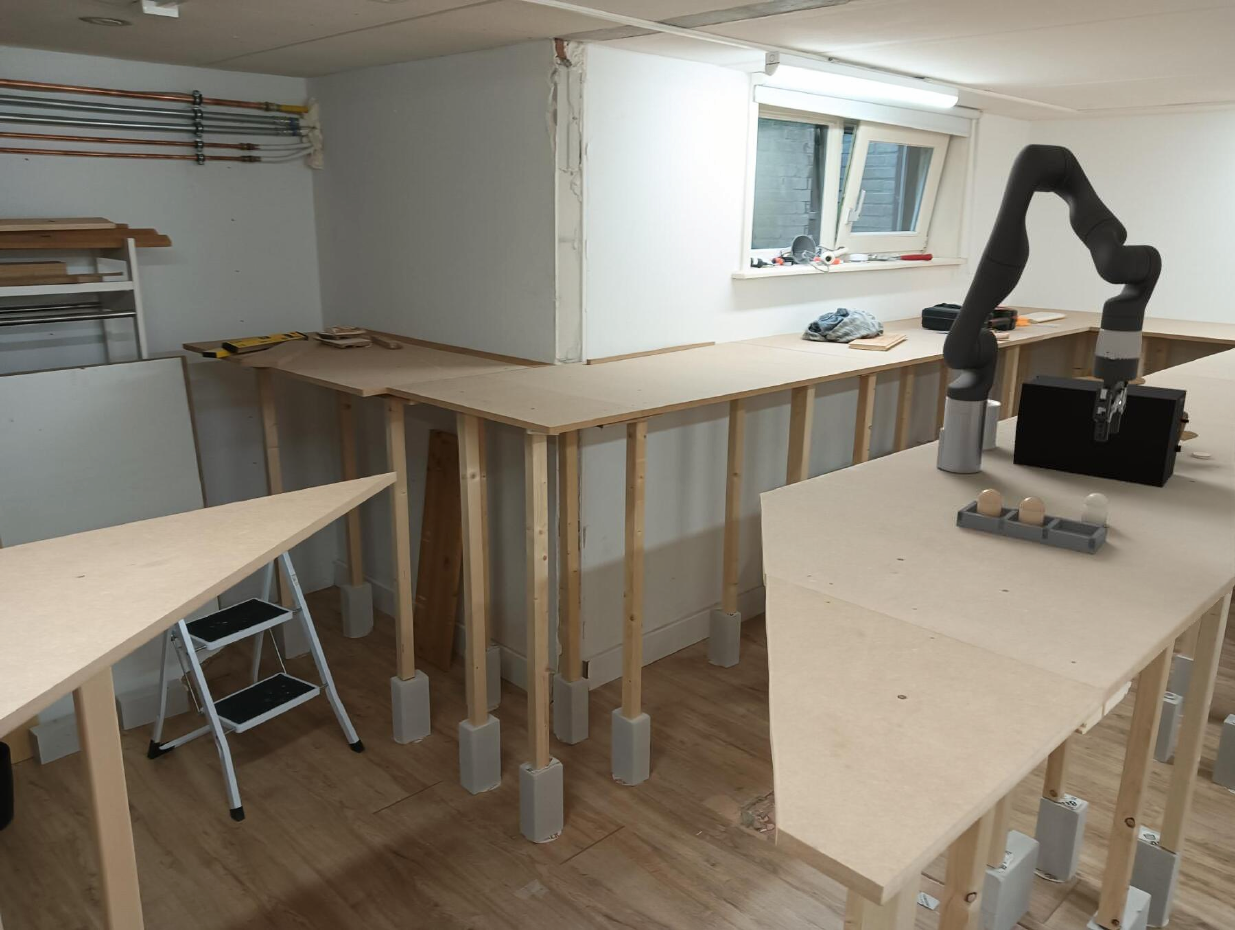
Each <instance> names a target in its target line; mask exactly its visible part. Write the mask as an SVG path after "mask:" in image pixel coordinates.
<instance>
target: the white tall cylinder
mask: <svg viewBox="0 0 1235 930" xmlns="http://www.w3.org/2000/svg"><path fill="white" fill-rule="evenodd" d="M1001 406H1002V403H1001V402H1000V401H996V400H992V399H988V404H987V414H986V423H985V432H984V441H983V451H989V450H994V449H996V448H997V444H996V441H997V433H998V432H997V430H998V426H999V425H998V424H999V417H1000V415H999V414H1000V408H1001Z"/></svg>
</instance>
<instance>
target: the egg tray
mask: <svg viewBox="0 0 1235 930" xmlns="http://www.w3.org/2000/svg"><path fill="white" fill-rule="evenodd" d="M977 505H978V500H973V501H972V502H970V503H969V504H967V505H966V506H964V507H963V508H961V509H959V510H958V511H957V515H956V526H959V527H963V528H968V529H973V530H978V531H982V532H987V533H991V534H997V535H1001V536H1005V537H1010V538H1016V539H1018V540H1019V539H1020V540H1024V541H1029V542H1034V543H1038V544H1043V545H1048V546H1052V547H1057V548H1061V549H1066V550H1069V551H1071V550H1072V551H1075V552H1080V553H1085V554H1090V555H1094V554H1095V553H1096V552H1097V551H1098V550H1099V549H1100V548H1101V547H1102V545H1103V544H1104V543H1105V542H1106V541H1107V534H1108V529H1109V527H1108V526H1100V525H1095V524H1090V523H1085V522H1081V521H1079V520H1074V519H1069V518H1063V517H1058V516H1054V515H1049V514H1044V520H1043V527H1039V526H1034V525H1029V524H1024V523H1019V522H1018V518H1019V510H1020V508H1013V507H1008V506H1003V505H1002V506H1001V515H1000V518H995V517H990V516H985V515H980V514H977Z"/></svg>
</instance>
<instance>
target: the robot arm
mask: <svg viewBox="0 0 1235 930" xmlns="http://www.w3.org/2000/svg"><path fill="white" fill-rule="evenodd" d="M1007 178H1008V179H1007V181H1006V185H1005V189H1004V193H1003V196H1002V199H1001V203H1000V206H999V208H998V209H999V210H998V213H997V216H996V217H995V218H996V219H995V221H994V224H993V226H992V229H991V232H990V234H989V237H988V240H987V242H986V244H985V247H984V249H983V252H982V254H981V257H980V259H979V262H978V264H977V267H976V270H975V273H974V277H973V279H972V281H971V284H970V286H969V288H968V291H967V294H966V296H965V298H964V301H963V303H962V305H961V308H960V310H959V311H958V313H957V315H956V317H955V319H954V321H953V323H952V325H951V327H950V329H949V331H948V332H947V335H946V337H945V340H944V343H943V345H942V358H943V361H944V364H945V365H946V367H948V368H949V369H952V370H958V371H962V370H963V371H962V373H961V374H960V376H959V377H957V379H955V380H953V381H951V382H950V383H949V384H948V385H947V387H946V388H947V389H946V397H945V404H944V405H945V406H944V407H945V408H944V415H943V416H944V417H943V427H941V428H940V429H939V436H938V437H939V439H938V446H937V457H936V465H935V467H936V468H938V469H941V470H944V471H947V472H951V473H959V474H973V473H979V472H980V471H981V466H982V458H983V451H984V450H983V441H984V432H985V423H986V414H987V404H988V400H989V395H990V393H991V390H992V388H993V385H994V382H995V375H996V370H997V365H998V358H999V355H998V354H999V344H998V338H997V337H996V334H995V333H994V332H993V331H992V330H990V328H989V329H988V328H986V327H985V328H984V325H985V323H986V321H987V319H988V318H989V316H990V315H992V313H993V312H994V311H995V310H996V309H997V308H998V306H1000V304H1002V302H1003V301H1004V300H1005V299H1006V298H1007V297H1009V296H1010V294H1011V293H1012V292H1013V291H1014V289H1015V288H1016V287H1017V285H1018V284H1019V282H1020V280H1021V278H1022V275H1023V273H1024V271H1025V267H1026V266H1027V263H1028V260H1029V258H1030V243H1029V237H1028V236H1029V235H1028V231H1027V225H1026V219H1027V213H1028V210H1029V207H1030V205H1031V201H1032V199H1033V196H1034V194H1035V192H1037V193H1054V194H1055V195H1057V196H1058V197H1060V199H1062V200H1063V201H1064V202H1065V203H1066V204H1067V206H1068V209H1069V213H1068V214H1069V215H1068V217H1069V218H1068V219H1069V224H1070V226H1071V229H1072V230H1073V232H1074V234H1075V235H1076V236H1077V238H1078V239H1079V240H1080V241H1081V242H1082V244H1083V245H1084V246H1085V248H1087V249H1088V250H1089V252H1090V256H1091V259H1092V262H1093V265H1094V267H1095V270H1096V272H1097V274H1098V276H1099V277H1100V278H1102V280H1104V281H1105V282H1107V283H1109V284H1112V285H1124V286H1123V288H1122V290H1121V292H1120V294H1118V295H1116V296H1112V297H1110V298H1107V299H1106V300H1105V301H1104V304H1103V307H1102V314H1101V320H1100V327H1099V332H1098V336H1097V338H1096V339H1097V340H1096V344H1095V345H1096V347H1095V352H1094V353H1095V355H1094V361H1093V370H1092V376H1094V377H1095V378H1098V379H1102V380H1104V383H1103V386H1102V388H1098V389H1097V391H1096V392H1097V393H1096V400H1095V407H1094V413H1093V420H1095V421H1096V427H1095V434H1094V440H1095V441H1100V442H1105V441H1107V439H1108V433H1114V434H1116V433H1117V432H1118V431H1119V424H1120V417H1121V415H1119V414H1122V413H1123V410H1124V409H1125V408H1126V398H1127V390H1128V384H1129V381H1132V380H1135V379H1136V378H1137V376H1138V374H1139V373H1138V372H1139V366H1140V358H1141V351H1142V346H1143V345H1142V343H1143V328H1144V321H1145V319H1144V318H1145V315H1146V314H1145V313H1146V309H1147V308H1146V307H1147V306H1148V304H1149V302H1150V300H1151V298H1152V295H1153V293H1154V290H1155V288H1156V285H1157V284H1158V281H1159V278H1160V276H1161V272H1162V267H1163V264H1162V262H1163V261H1162V257H1161V254H1160V252H1159V250H1158V249H1157V248H1156V247H1155V246H1152V245H1147V244H1136V245H1135V244H1133V245H1131V244H1130V245H1129V244H1128V245H1127V244H1126V245H1125V243H1126V241H1127V239H1128V231H1127V229H1126V227H1125V226H1124V224H1123V223H1122V222H1121V221H1120V220H1119V218H1117V216H1115V214H1114V213H1113V212H1112V211H1111V210H1110V209H1109V208H1108V207H1107V206H1106V205H1105V203H1104V202H1103V200H1102V199H1101V198H1100V197H1099V196H1098V193H1097V192H1096V190H1095V189H1094V186H1093V185H1092V184H1091V182H1090V180H1089V178H1088V176H1087V175H1086V173H1085V171H1084V169H1083V168H1082V166H1081V164H1080V162H1079V159H1077V157H1076V156H1075V154H1074V153H1073V152H1072V151H1071V150H1070V149H1069V148H1067V147H1066V146H1061V145H1054V144H1038V143H1036V144H1035V143H1033V144H1032V143H1030V144H1027V145H1025V146H1024V147H1022V148H1020V150H1019V152H1018V153H1017V154H1016V156H1015V159H1014V160H1013V162H1012V165H1011V168H1010V170H1009V174H1008V177H1007ZM1101 412H1105V414H1101Z"/></svg>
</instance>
